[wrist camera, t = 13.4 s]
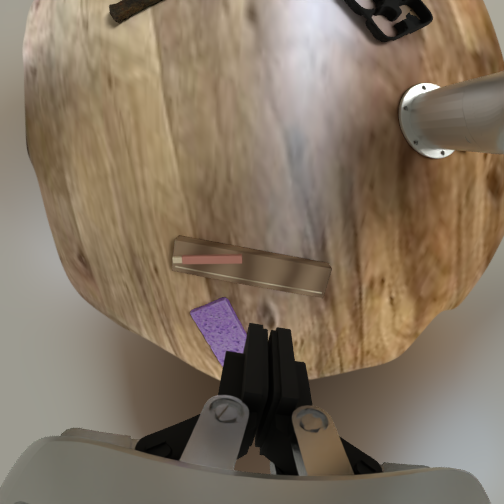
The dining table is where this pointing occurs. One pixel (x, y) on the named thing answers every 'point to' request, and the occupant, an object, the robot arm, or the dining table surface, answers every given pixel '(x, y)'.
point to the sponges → (220, 327)
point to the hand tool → (128, 8)
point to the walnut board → (255, 267)
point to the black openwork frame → (394, 16)
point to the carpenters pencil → (208, 259)
